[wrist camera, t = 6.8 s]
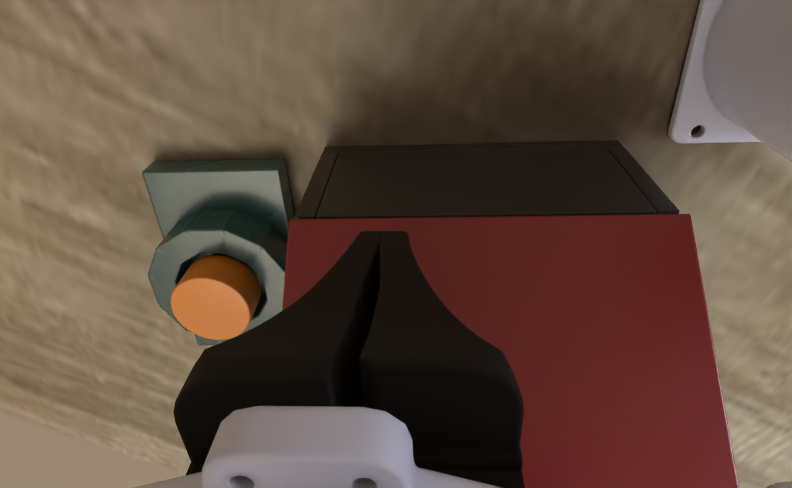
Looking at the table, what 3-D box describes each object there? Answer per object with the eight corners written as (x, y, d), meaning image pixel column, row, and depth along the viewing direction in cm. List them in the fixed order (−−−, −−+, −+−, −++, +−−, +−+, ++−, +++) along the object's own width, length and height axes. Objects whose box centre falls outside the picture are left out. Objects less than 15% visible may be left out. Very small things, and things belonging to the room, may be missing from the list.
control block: (288, 157, 23) (271, 188, 20) (316, 330, 28) (306, 371, 26) (150, 160, 23) (116, 190, 21) (203, 330, 29) (181, 371, 26)
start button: (253, 253, 22) (241, 277, 21) (267, 314, 24) (257, 340, 23) (177, 254, 23) (160, 278, 21) (196, 314, 24) (181, 340, 23)
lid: (753, 642, 13) (770, 654, 12) (263, 624, 14) (255, 635, 13) (680, 221, 16) (691, 213, 16) (294, 225, 17) (288, 218, 17)
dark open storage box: (581, 329, 27) (619, 427, 22) (346, 329, 28) (328, 424, 23) (619, 139, 22) (680, 210, 16) (324, 146, 22) (294, 216, 17)
